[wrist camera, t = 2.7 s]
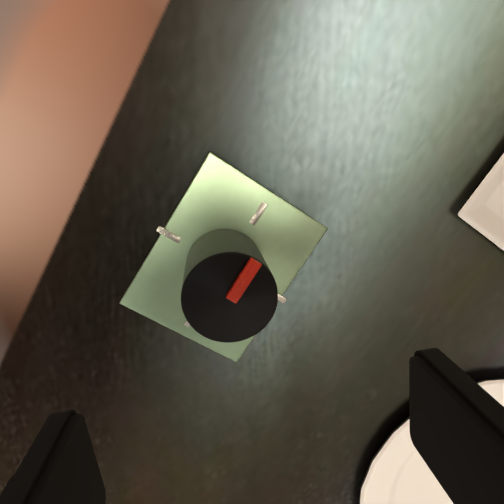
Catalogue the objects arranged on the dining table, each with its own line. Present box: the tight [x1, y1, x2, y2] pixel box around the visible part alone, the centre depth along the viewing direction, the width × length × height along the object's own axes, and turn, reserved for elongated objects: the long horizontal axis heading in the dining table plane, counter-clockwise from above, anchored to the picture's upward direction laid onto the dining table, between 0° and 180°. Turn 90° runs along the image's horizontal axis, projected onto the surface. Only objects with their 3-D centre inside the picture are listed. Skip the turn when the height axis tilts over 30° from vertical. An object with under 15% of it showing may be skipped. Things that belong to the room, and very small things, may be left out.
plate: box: [359, 378, 504, 504], centre depth 32 cm, size 21×21×2 cm
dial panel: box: [120, 152, 328, 362], centre depth 23 cm, size 10×9×3 cm
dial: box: [181, 229, 278, 343], centre depth 19 cm, size 4×4×5 cm
